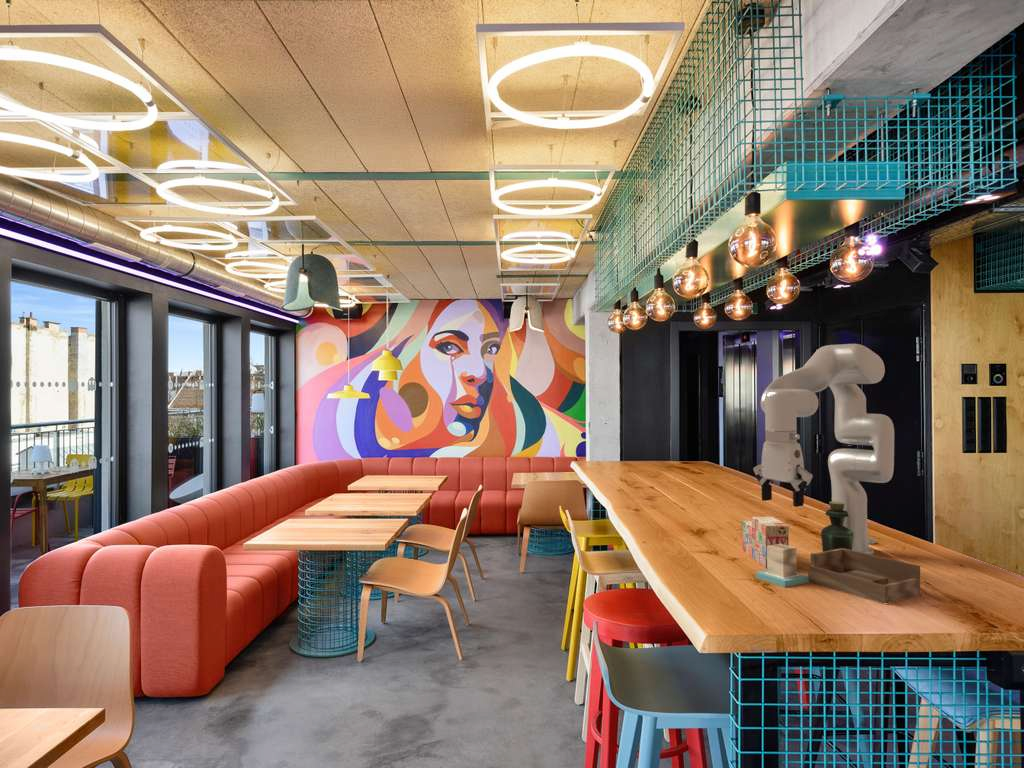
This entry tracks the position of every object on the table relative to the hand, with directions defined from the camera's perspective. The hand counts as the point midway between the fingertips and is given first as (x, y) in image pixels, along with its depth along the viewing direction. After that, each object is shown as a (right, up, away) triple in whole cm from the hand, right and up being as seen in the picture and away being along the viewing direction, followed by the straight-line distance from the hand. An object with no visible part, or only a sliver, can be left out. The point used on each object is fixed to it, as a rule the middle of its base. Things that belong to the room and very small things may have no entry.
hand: (782, 503), depth 164 cm
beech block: (0, -18, -1) cm, 18 cm away
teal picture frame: (0, -20, -1) cm, 20 cm away
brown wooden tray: (+17, -20, -7) cm, 27 cm away
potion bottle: (+20, -20, +12) cm, 31 cm away
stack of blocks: (+3, -21, +20) cm, 29 cm away
